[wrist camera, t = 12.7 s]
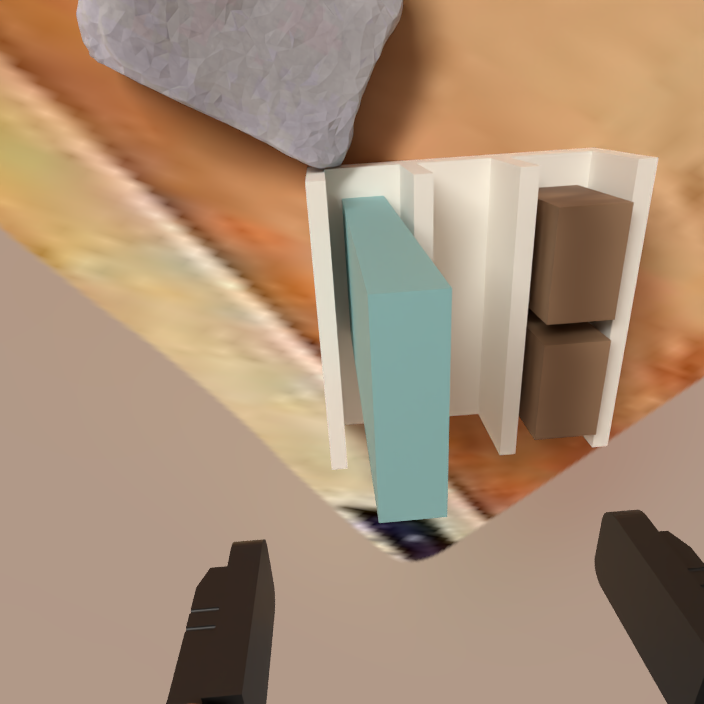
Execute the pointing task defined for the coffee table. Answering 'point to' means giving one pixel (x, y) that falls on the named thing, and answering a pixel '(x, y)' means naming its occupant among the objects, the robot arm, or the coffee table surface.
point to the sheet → (399, 359)
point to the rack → (470, 269)
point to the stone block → (251, 62)
